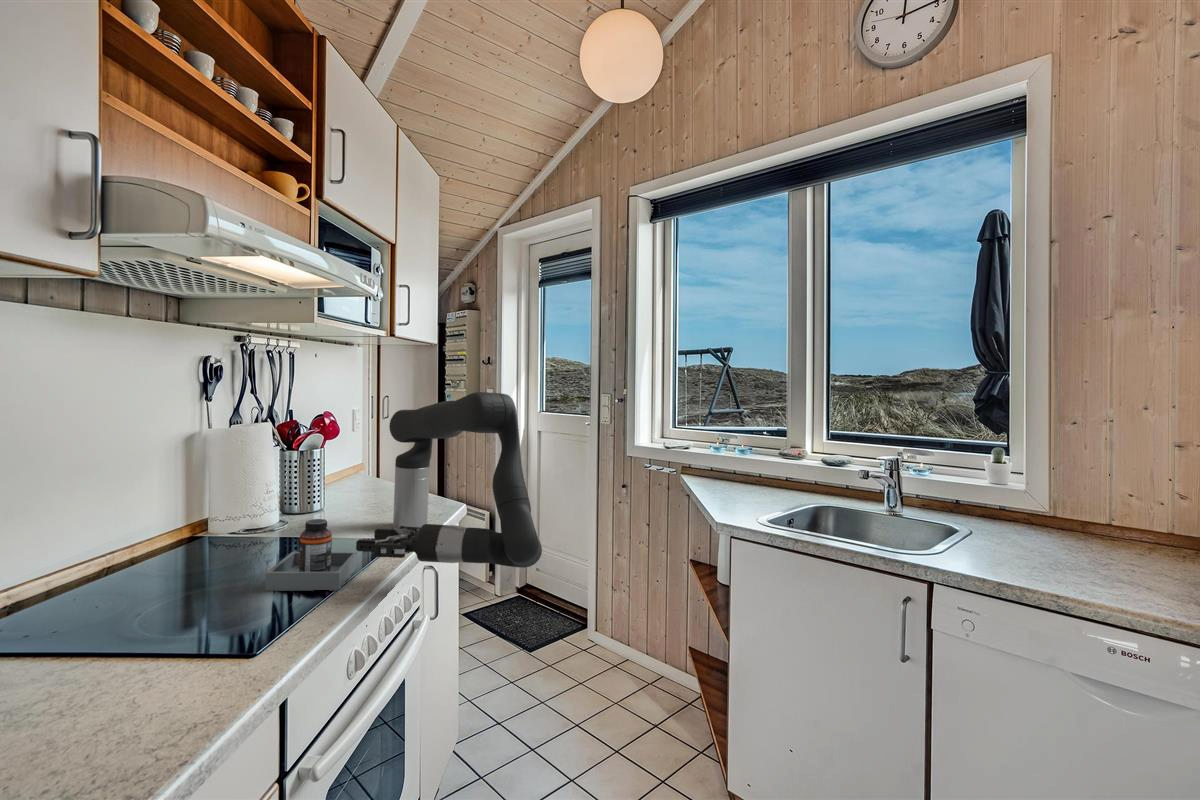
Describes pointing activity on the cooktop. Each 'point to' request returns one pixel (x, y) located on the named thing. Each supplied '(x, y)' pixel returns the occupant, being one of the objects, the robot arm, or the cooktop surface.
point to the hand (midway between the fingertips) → (366, 539)
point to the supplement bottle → (315, 547)
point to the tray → (310, 574)
